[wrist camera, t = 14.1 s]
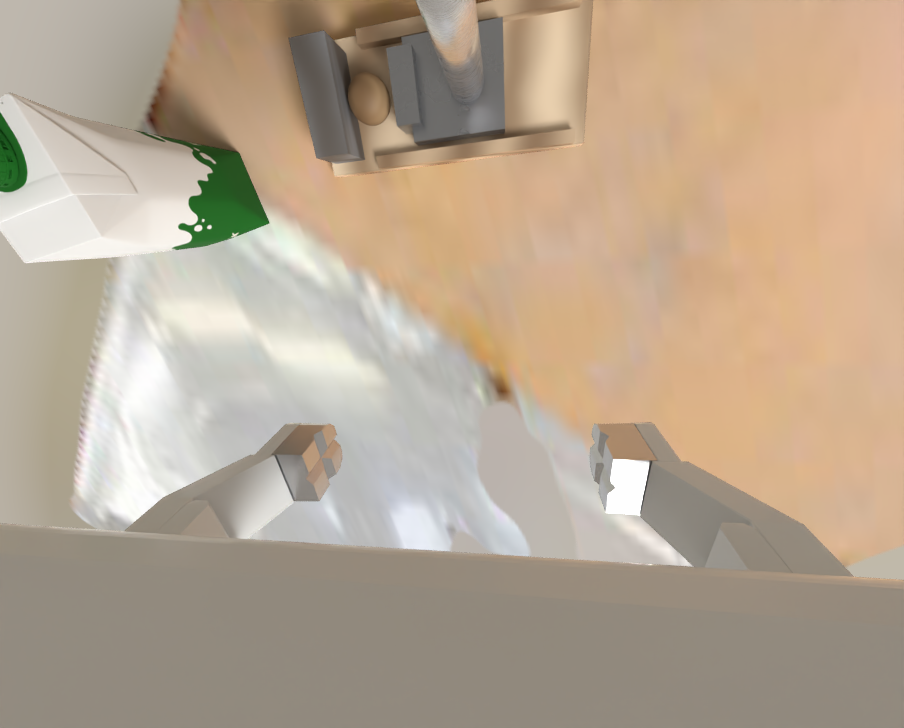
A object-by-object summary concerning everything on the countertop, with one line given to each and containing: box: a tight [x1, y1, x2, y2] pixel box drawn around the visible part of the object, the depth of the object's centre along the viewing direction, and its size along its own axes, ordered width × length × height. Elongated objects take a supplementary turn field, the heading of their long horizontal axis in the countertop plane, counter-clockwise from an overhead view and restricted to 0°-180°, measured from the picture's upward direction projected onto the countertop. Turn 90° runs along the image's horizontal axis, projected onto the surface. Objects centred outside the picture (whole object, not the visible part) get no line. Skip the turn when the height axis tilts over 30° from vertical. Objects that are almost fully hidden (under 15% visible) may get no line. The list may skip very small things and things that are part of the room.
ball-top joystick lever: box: [386, 0, 505, 145], centre depth 19 cm, size 9×7×21 cm
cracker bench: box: [289, 0, 593, 177], centre depth 27 cm, size 24×10×6 cm, turn 96°
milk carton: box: [0, 93, 269, 263], centre depth 27 cm, size 9×9×20 cm
